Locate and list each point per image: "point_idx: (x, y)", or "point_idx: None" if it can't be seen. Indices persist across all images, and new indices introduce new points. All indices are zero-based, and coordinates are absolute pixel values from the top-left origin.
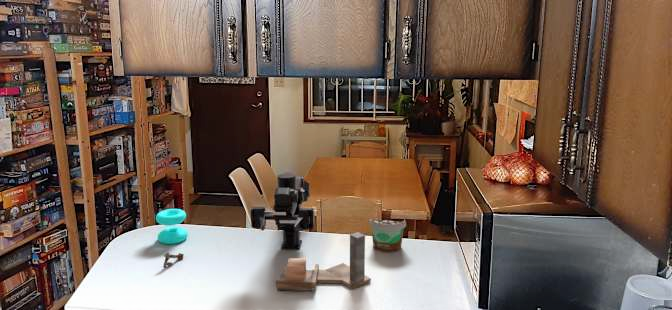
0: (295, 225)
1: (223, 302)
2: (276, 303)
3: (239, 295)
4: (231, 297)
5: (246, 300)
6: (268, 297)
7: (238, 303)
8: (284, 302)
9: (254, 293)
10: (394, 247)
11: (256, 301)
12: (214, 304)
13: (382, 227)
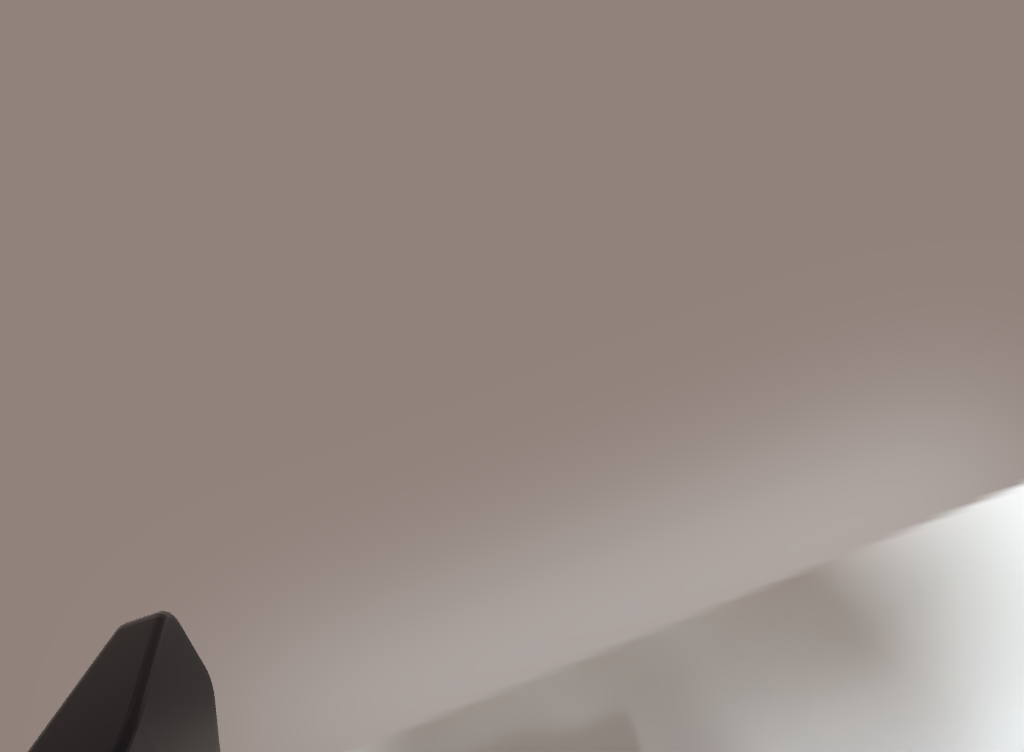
0: (100, 687)
1: (971, 532)
2: (547, 688)
3: (952, 657)
4: (986, 606)
5: (822, 623)
6: (669, 738)
7: (847, 568)
8: (486, 728)
9: (850, 743)
10: None
11: (729, 645)
12: (1006, 491)
13: None
